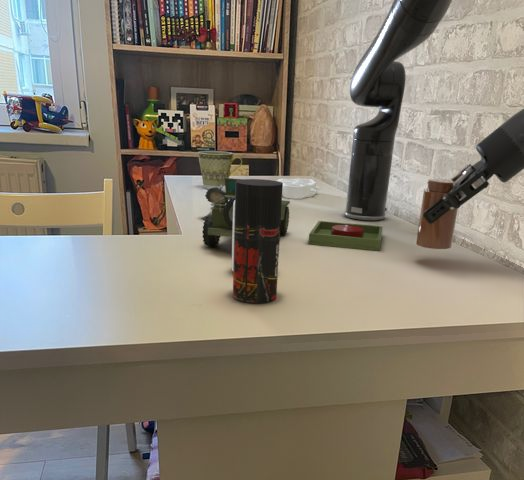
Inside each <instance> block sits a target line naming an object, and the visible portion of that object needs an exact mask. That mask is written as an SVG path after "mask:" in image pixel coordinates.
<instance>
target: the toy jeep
mask: <svg viewBox="0 0 524 480" xmlns="http://www.w3.org/2000/svg"><path fill="white" fill-rule="evenodd" d="M242 179H243V178H231V177H229V178H225V190H226V195H225V196H224V197H223V198H221V199H220V200H218V201H216V202H214V203H210V206H211V207H210V210H211V211H212V215H207V214H206V215H205V216H206V218H205V219H204V221H203V225H202V242H203V244H204V245H205V246H207V247H211V248H213V247H218V245H219V244H220V240H221V239H220V238H221V237H228V238H232V232H233V203H234V201H235V181H237V180H242ZM223 199H225V201H222V202H220V203H218V204H216V203H217V202H219V201H221V200H223ZM223 202H224V203H223ZM290 203H291V200H285V199H284V200H283V199H282V205H281V223H280V235H287V232H288V230H289V222H290V209H289V205H290Z"/></svg>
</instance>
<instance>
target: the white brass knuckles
mask: <svg viewBox="0 0 524 480" xmlns="http://www.w3.org/2000/svg"><path fill="white" fill-rule="evenodd" d="M276 181H279V182H282V183H283V187H282V198H285V199H293V200H302V199H304V198H311V197H314V196H315V195H316V192H317V191H320V190H321V189H322V187H319V186H318V185H317V182H316V180H315V179H312V178H279V179H277V180H276Z"/></svg>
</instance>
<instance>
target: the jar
mask: <svg viewBox="0 0 524 480" xmlns="http://www.w3.org/2000/svg"><path fill="white" fill-rule="evenodd" d="M454 182H455V180H451V179H449V178H448V179H447V178H430V179H428V181H427V188H424V189H423V195H422V201H421V208H420V214H419V221H418V227H417V235H416V241H415V244H416V245H417V246H419V247H421V248H424V249H433V250H449V249H451V248H452V246H453V239H454V233H455V228H456V222H457V217H458V210H459V208H457V209H452V210H449V211H448V212H446V213H445V214H444V215H442V216H441V217H440V218H439V219H437V220H436V221H435V222H433V223H432V224H430V223H428V221H427V220H426V219H425V218H424V216H423V213H424V212H425V211H426V210H427V209H428V208H430V207H431V206H432V205H433V204H435V203H436V202H437V201H439V200H440V199H442V197H443V195H444V194H446V193H447V192H448V191H450V189H451V185H452V184H453V183H454ZM455 196H456V197H457V198H458V196H457V195H456V194H455ZM449 209H450V208H449Z"/></svg>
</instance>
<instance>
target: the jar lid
mask: <svg viewBox="0 0 524 480" xmlns="http://www.w3.org/2000/svg"><path fill="white" fill-rule="evenodd" d="M363 230H364V229H363V228H361V227H357V226H351V225H336V226H333V227H332V229H331V235H337V236H348V237H359V238H363V234H364V231H363Z"/></svg>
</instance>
